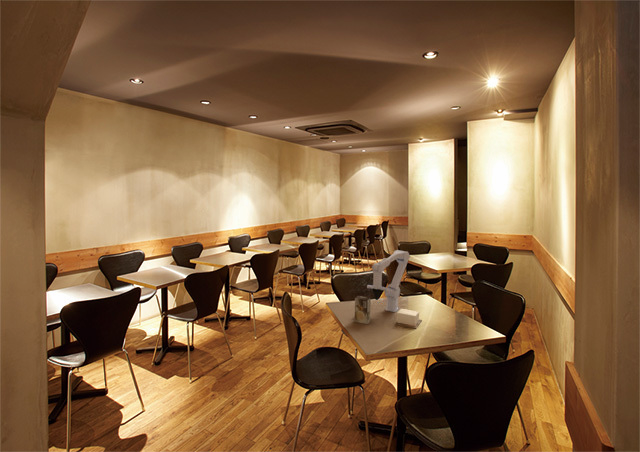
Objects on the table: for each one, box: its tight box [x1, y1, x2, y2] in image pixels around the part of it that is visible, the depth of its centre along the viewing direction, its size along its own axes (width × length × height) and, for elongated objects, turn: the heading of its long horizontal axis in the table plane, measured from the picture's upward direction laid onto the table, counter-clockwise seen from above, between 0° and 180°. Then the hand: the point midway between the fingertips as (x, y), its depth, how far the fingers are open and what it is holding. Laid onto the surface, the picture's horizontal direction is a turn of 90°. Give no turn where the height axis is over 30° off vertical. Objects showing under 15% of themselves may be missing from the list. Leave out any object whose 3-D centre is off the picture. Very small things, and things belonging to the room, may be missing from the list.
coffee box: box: [354, 295, 372, 325], centre depth 219 cm, size 9×6×16 cm
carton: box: [396, 308, 420, 326], centre depth 218 cm, size 9×6×12 cm
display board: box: [397, 319, 423, 330], centre depth 218 cm, size 16×12×1 cm
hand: (376, 299), depth 233 cm, fingers closed
